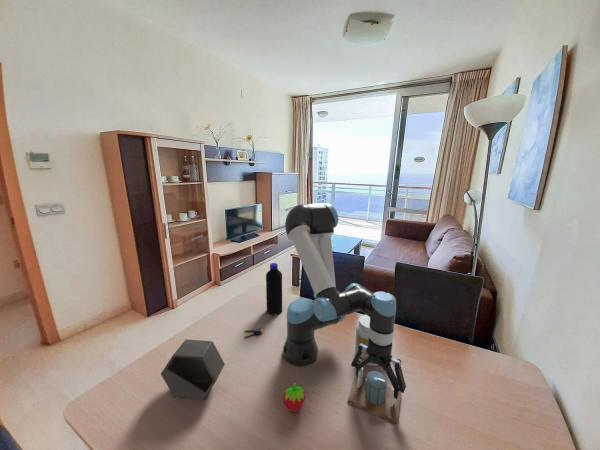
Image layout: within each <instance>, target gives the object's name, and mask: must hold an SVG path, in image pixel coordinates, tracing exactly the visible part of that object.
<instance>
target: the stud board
mask: <svg viewBox="0 0 600 450" xmlns="http://www.w3.org/2000/svg"><path fill="white" fill-rule="evenodd" d="M366 378H367V377H365V376H363V380H362V384H361V386H360V388H358V387H357V383H358V377H356V376H355V379H354V381H353V384H352V387H351V390H350V392H349V395H348V397H347V403H349V404H351V405H353V406H355V407H357V408H359V409H363V410H365V411H367V412H369V413H371V414H373V415H374V416H375V415H376V416H377V417H380V418H382V419H385V420H387V421H389V422H391V423H394V424H396V425H398V421H399V413H400V404H401V398H402V397H401V396H402V392H401V391H399V395H398V398H397V399H396V398H395V401H394V404H393V406H392V407H391V406H390V399H391V390H392V387H391V386H388V385H387V387H386V396H385V402H384V403H382V404H379V405H376V404H374V403H371V402H370V401H368V399H367V397H366V396H365V386H366Z"/></svg>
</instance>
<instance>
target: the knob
mask: <svg viewBox="0 0 600 450" xmlns="http://www.w3.org/2000/svg"><path fill="white" fill-rule="evenodd" d="M365 378H366V386H365V396H366V397H367V399H368V401H370V402H371V403H374V404H376V405H379V404H382V403H384V402H385V396H386V387H387V386H388V381H387V377H385V375H384V374H383V373H382V372H380V371H375V370H371V371H368V372H367V374H366V377H365Z"/></svg>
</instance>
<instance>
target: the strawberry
mask: <svg viewBox="0 0 600 450" xmlns="http://www.w3.org/2000/svg"><path fill="white" fill-rule="evenodd" d="M282 400H283V404H284V406H285V408H286V409H287V411H288V412H291V413H298V412H299V411H300V410H301V409H302V407H303V405H304V402H305V401H306V394H305V390H304V389H303V388H302V387H301V386H299V385H296V382H294V383H293V384H292V387H288V388H286V390H285V391H284V393H283V395H282Z"/></svg>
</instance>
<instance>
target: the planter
mask: <svg viewBox="0 0 600 450" xmlns="http://www.w3.org/2000/svg"><path fill="white" fill-rule="evenodd" d="M224 367H225V362H224V360H223V358H222V356H221V355H220V352H219V351H218V350H217V347H216V345H215V344H214V341H211V340H199V339H184V340H183V342H181V345H180V346H179V347H178V348H177V349H176V351H175V352H174V353H173V355H171V358H170V359H169V361H168V362H167V363H166V365H165V367H164V368H163V370H162V371H161V372H160V376H161V377H162V379H163V380H164V382H165V384H166V386H167V387H168V389H169V391H170V392H171V394H172V395H173V397H174V398H175V397H178V398H177V399H186V400H198V401H203V400H204V398H206V397H207V395H208V393H209V392H210V390H211V389H212V388H213V387H214V385H215V384H216V383H217V381H218V379H219V376H220V375H221V372H222V370H223V368H224Z"/></svg>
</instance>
